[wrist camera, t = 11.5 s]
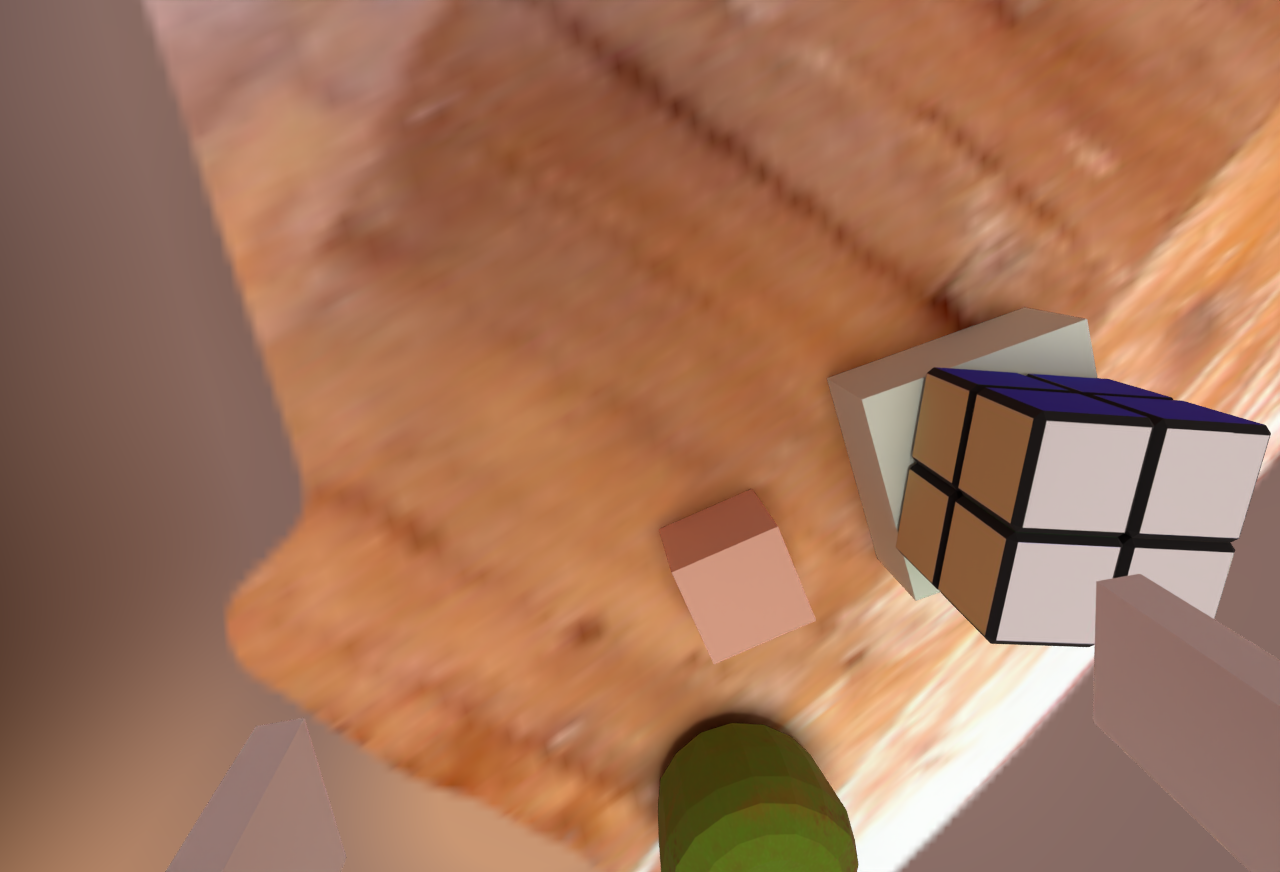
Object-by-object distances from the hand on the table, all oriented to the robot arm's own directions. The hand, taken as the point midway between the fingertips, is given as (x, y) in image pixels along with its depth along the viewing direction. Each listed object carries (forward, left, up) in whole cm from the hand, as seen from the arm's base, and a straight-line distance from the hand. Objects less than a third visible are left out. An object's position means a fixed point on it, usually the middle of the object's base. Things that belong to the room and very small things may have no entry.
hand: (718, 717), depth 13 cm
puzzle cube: (+7, +19, -26) cm, 33 cm away
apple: (+28, +4, -32) cm, 43 cm away
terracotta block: (+12, +5, -32) cm, 34 cm away
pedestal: (+7, +19, -32) cm, 38 cm away
